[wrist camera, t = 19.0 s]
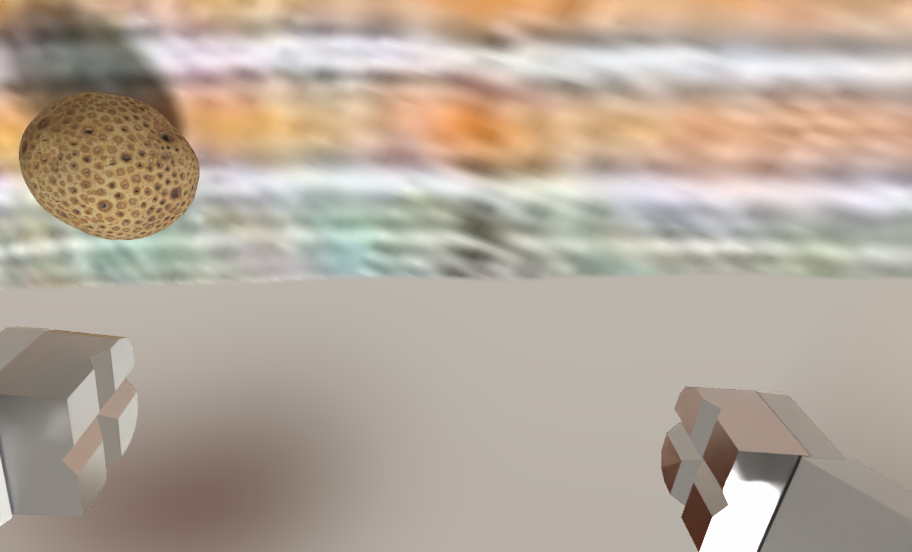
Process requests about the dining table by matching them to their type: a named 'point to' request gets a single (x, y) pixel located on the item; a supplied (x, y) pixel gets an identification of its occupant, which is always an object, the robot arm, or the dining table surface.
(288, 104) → the dining table surface
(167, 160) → the natural sponge
